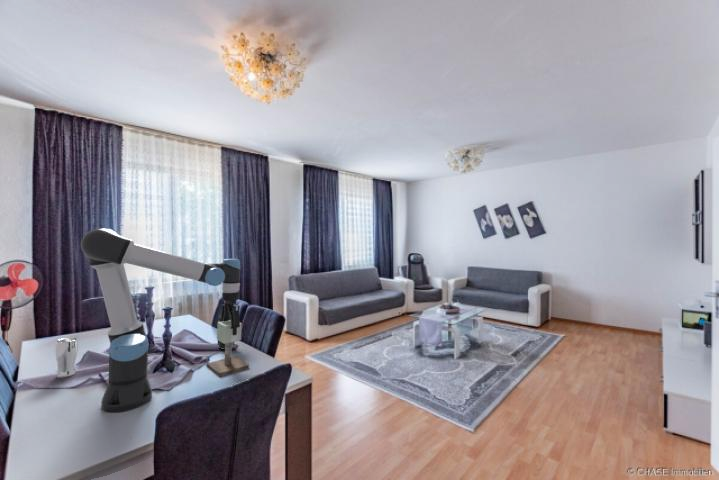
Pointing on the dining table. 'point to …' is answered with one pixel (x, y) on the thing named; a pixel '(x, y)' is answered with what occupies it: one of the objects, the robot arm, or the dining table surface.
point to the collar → (226, 331)
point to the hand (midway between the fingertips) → (229, 339)
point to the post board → (229, 368)
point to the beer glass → (66, 356)
